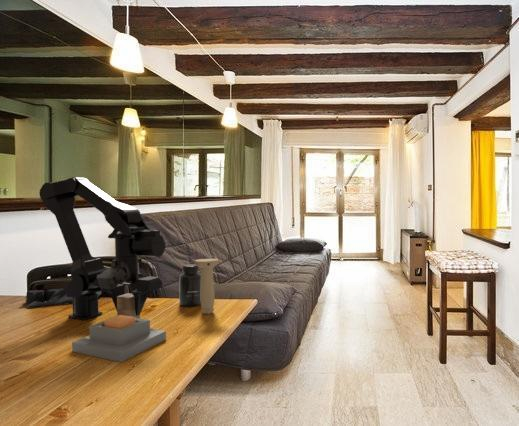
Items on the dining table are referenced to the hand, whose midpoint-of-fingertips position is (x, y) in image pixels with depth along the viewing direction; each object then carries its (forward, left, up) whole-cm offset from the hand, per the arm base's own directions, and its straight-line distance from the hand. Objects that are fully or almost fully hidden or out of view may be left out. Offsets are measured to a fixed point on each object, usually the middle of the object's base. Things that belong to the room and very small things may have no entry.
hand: (128, 313), depth 109 cm
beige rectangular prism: (0, 0, -2) cm, 2 cm away
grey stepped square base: (+11, -14, -2) cm, 18 cm away
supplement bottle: (+5, +21, -2) cm, 22 cm away
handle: (+15, +15, -2) cm, 21 cm away
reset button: (+11, -14, +1) cm, 18 cm away
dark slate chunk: (-36, +10, -3) cm, 37 cm away
